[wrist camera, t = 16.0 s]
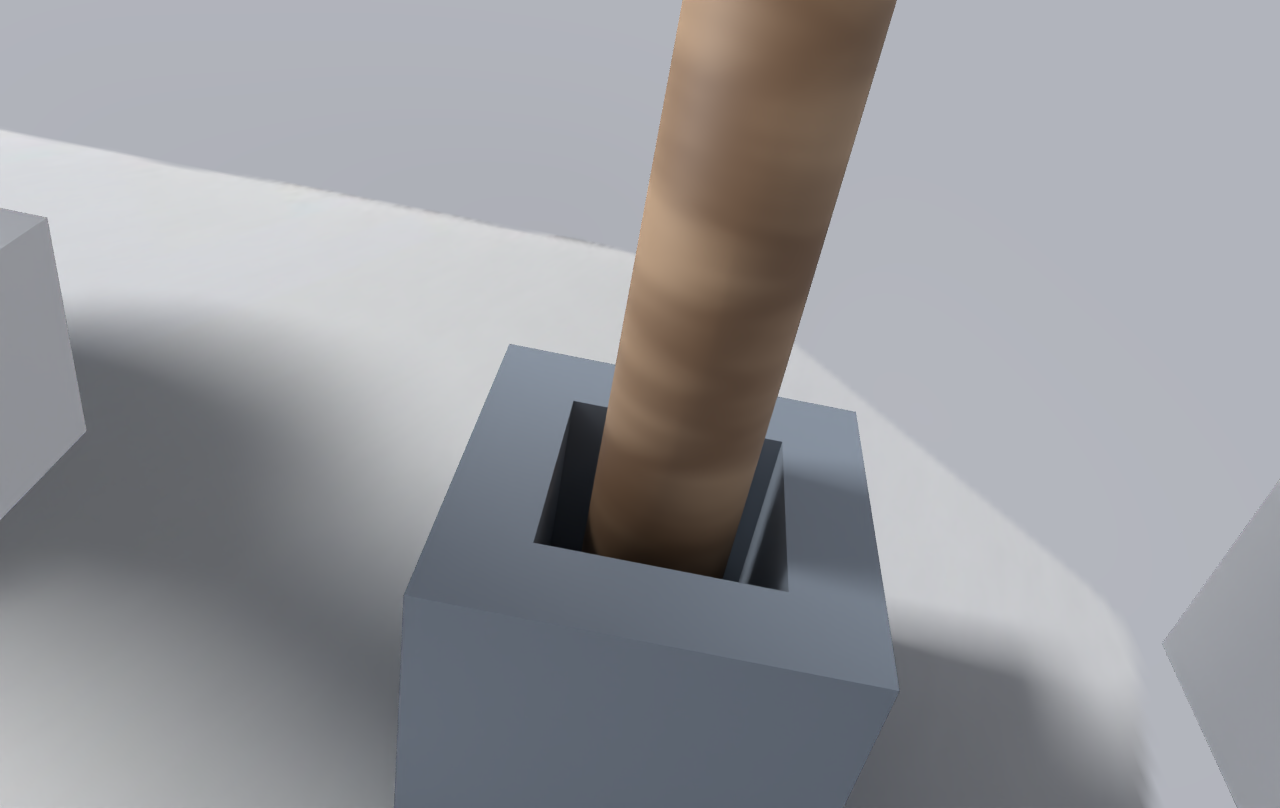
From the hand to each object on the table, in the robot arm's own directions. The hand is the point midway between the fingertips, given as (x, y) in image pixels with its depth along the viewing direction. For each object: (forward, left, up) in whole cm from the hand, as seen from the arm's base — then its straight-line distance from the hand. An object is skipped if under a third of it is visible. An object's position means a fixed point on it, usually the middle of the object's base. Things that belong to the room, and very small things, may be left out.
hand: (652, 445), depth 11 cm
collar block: (+1, +12, -19) cm, 22 cm away
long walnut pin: (+1, +12, -19) cm, 22 cm away
